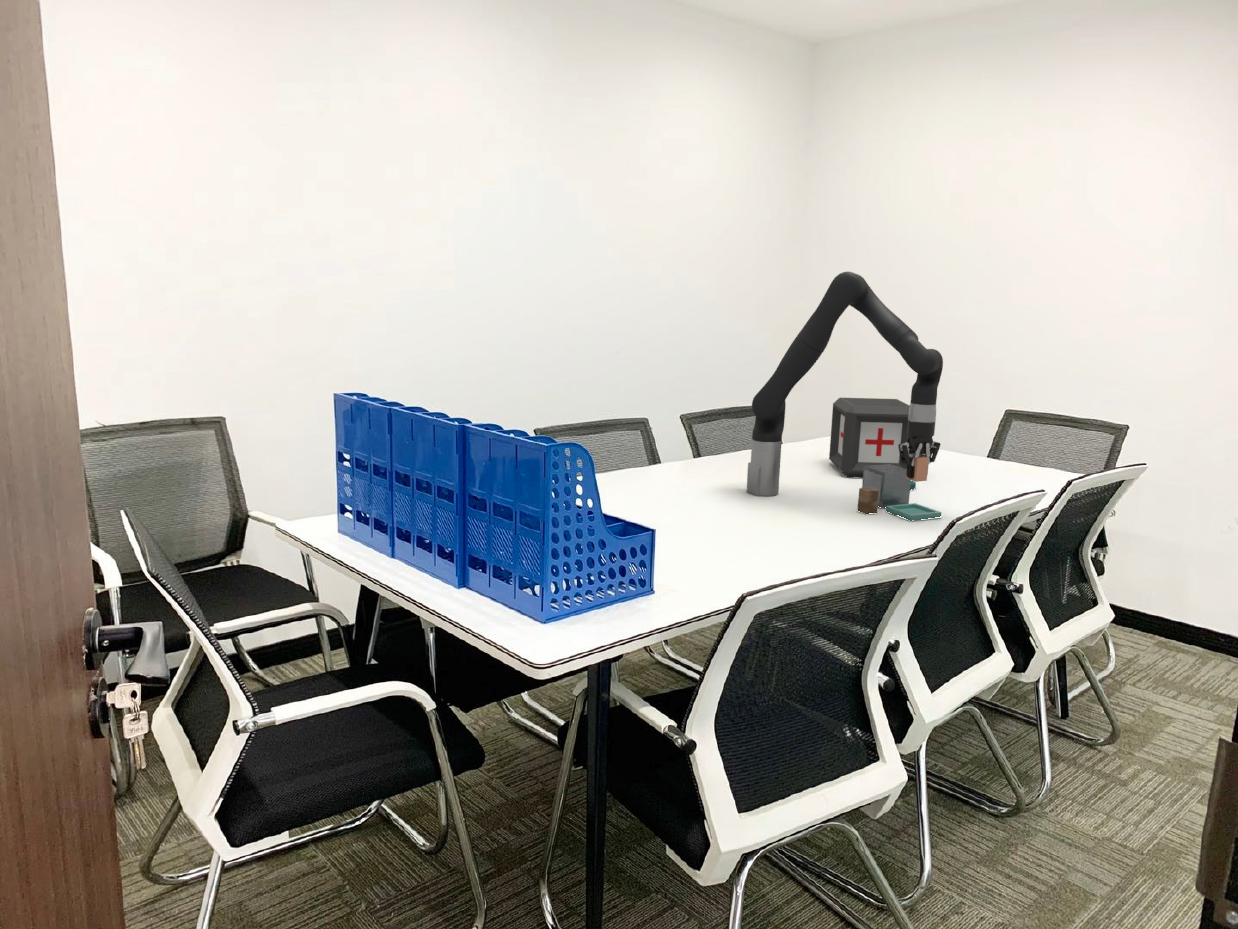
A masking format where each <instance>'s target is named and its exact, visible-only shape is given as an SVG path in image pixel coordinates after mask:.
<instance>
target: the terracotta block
mask: <svg viewBox="0 0 1238 929" xmlns="http://www.w3.org/2000/svg"><path fill="white" fill-rule="evenodd" d="M911 460H912V457H911ZM928 462H929V457H925V456H922V455H919V456H918V458H916V462H915V465H914V466H915V471H914V478H912V479H911V478H908V477H907V478H906V479H909V480H911V481H914V482H916V483H918V482H926V481H928V474H927V472H928V473H929V465H928Z"/></svg>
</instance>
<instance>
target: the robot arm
mask: <svg viewBox="0 0 1238 929" xmlns="http://www.w3.org/2000/svg"><path fill="white" fill-rule="evenodd" d="M849 306H850V307H851V308H853V309H854V310H856V311H857V312H859V313H860V314H862V315H863V316H864V317H865V318H866V319H867V320H868V321H869V322H870V323H871V324H872V325H873V327H874V329H876V331H877V333H879V334H880V336H881V337H882V338H883V339H884V340H885V341H886V343H888V344H889V345H890V346H891V347H892V348H893V349H894V350H896V351H897V352H898V353H899V355H900V356H901V358H902V359H903V360H904V362H905V363H906V364H907V366H908V368H910V369H911V370H912V371H914V373H915V374H917V375H916V380H915V383H913V385H912V387H911V390H910V391H911V393H910V404H909V405H910V408H909V414H908V426H907V434H908V439H907V442H906V443H904V444H899V445H898V448H899V453H900V458H901V462H902V463H905V464H907V471H906V475H907V477H908V478H911V479H912V478H914V471H915V466H914V465H915V462H916V458H918V456H919V455H922V456H925V457H929V462H928V466H930V465H931V463H934V462H936V458H937V456H938V453H939V450H940V448H941V443H940V442H938V441H934V439H933V437H934V436H935V431H936V419H937V400H938V387H939V384H940V381H941V376H942V373H943V369H944V368H943V367H944V366H943V365H944V358H943V355H942V353H941V352H940V351H938V350H937V349H935V348H926V347H925V346H924V345H923V344H922V343H921V342H920V340H919V335H917V334H916V332H915V331H914V330H913V329H912V328H911V327H909V325H908V324H907V323H905V322H904V321H903V320H902V319H901V318H900V317H899V316H897V315H896V314H895V312H893V311H892V310H891V309H890V308H889V307H887V306H886V305H885V304H884V302H883V301H882V300H881V299H880V298H879V297H878V296H877V295H876V293H875V292H874V290H873V289H872V287H870V285H869V284H868V282H867V281H866V279H865V278H864V277H863V276H862V275H860V274H857V273H855V272H852V271H843V272H840V273H839V274H837V275H836V276H835V277H834V278H833V279H832V281H831V283H830V284H829V286H828V288H827V290H826V291H825V293H824V295H823V297H822V299H821V301H820V302H819V304H818V306H817V308H816V309H815V311H814V312H813V313H812V314H811V316H809V318H808V320H807V321H806V323H805V324H804V326H803V327H802V329H801V330H800V331H799V332H798V333H797V335H796V336H795V338H794V339H793V341H792V342H791V344H790V345H789V347H788V349H787V350H786V352H785V354H784V356H782V358H781V360H780V362H779V364H778V365H777V367H776V369H775V371H774V373H773V374H772V375H771V376H770V377H769V379H768V380H767V381H766V382H765V384H764V385H763V386H762V387H761V388H760V389H759V391H758V392H757V393H756V394H755V395H754V396H753V398H752V402H751V410H752V413H753V415H754V416H755V422H754V424H753V425H754V426H753V430H752V433H751V434H752V435H751V448H750V449H751V452H750V462H748V463H747V474H746V477H747V478H746V492H747V493H750V494H751V495H753V496H755V497H757V496H759V497H760V496H761V497H772V496H777V495H779V492H780V491H779V488H780V474H781V473H780V471H781V470H780V469H781V459H782V458H781V457H782V456H781V455H782V443H783V442H782V441H783V434H784V430H785V429H784V428H785V419H786V406H787V405H786V404H787V403H786V400H787V398H788V396H789V395H790V393H791V391H792V390H793V389H794V387H795V386H796V385H797V384H798V383H799V381H801V379H802V378H803V377H805V376H806V375H807V373H808V372H809V371H811V369H812V367H813V366H814V365H815V364H816V362H817V361H818V360H819V359H820V357H821V356H822V354H823V353H824V352H825V349H826V348H827V346H828V343H829V342H830V339H831V337H832V334H833V331H834V328H835V325H836V324H837V322H838V320H839V319H840V317H841V316H842V315H843V313H844V312H845V311H846V310H847V308H848V307H849ZM908 447H909V448H908ZM912 453H913V454H914V455H912ZM911 457H912V460H911ZM928 474H929V471H928V472H927V475H928Z"/></svg>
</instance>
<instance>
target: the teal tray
mask: <svg viewBox="0 0 1238 929" xmlns="http://www.w3.org/2000/svg"><path fill="white" fill-rule="evenodd" d="M886 511H887V512H890V513H892V514H894V515H893V516H895V515H899V516H901V517H904V518H906V519H908V520H910V521H912V520H921V519H928V518H935V517H940V516H941V517H942V512H941V511H939V510H936V509H934V508H930V507H928V506H925V505H921V504H919V503H917V502H914V503H909V504H902V505H892V506H886V508H885V512H886ZM887 512H886V513H887ZM890 513H889V514H890ZM892 514H891V515H892ZM908 520H907V521H908ZM910 521H909V522H910ZM921 521H922V520H921ZM912 522H913V521H912Z"/></svg>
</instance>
